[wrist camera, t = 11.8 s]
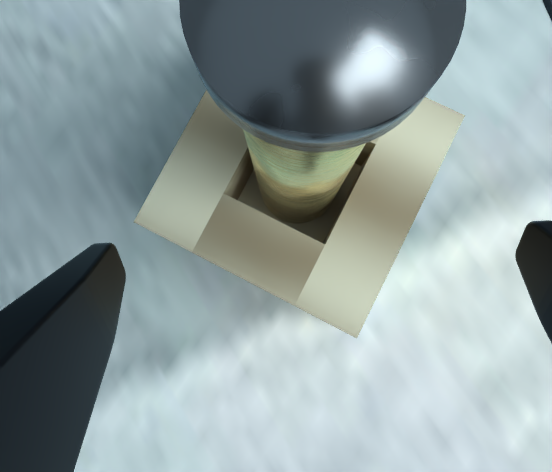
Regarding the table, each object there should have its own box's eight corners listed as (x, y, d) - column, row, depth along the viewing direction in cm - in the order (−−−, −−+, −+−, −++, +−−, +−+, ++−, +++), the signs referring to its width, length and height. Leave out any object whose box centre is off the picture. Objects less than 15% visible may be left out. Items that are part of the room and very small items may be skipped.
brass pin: (281, 251, 19) (271, 188, 6) (233, 171, 20) (129, -47, 7) (363, 202, 19) (523, 39, 6) (313, 124, 20) (367, -179, 7)
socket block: (342, 326, 19) (356, 338, 16) (163, 233, 20) (133, 222, 16) (430, 147, 20) (464, 115, 16) (255, 64, 21) (247, 14, 17)
